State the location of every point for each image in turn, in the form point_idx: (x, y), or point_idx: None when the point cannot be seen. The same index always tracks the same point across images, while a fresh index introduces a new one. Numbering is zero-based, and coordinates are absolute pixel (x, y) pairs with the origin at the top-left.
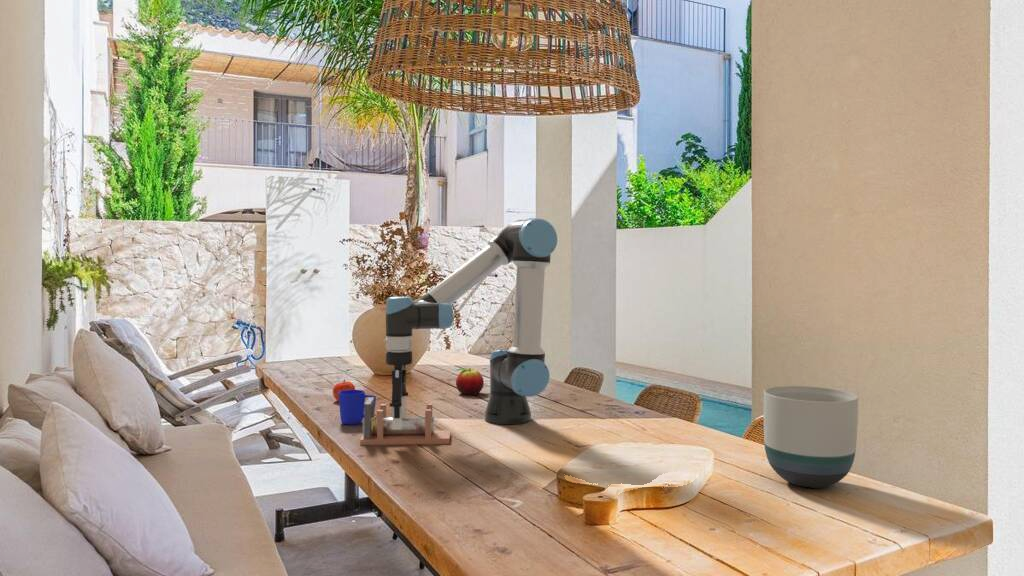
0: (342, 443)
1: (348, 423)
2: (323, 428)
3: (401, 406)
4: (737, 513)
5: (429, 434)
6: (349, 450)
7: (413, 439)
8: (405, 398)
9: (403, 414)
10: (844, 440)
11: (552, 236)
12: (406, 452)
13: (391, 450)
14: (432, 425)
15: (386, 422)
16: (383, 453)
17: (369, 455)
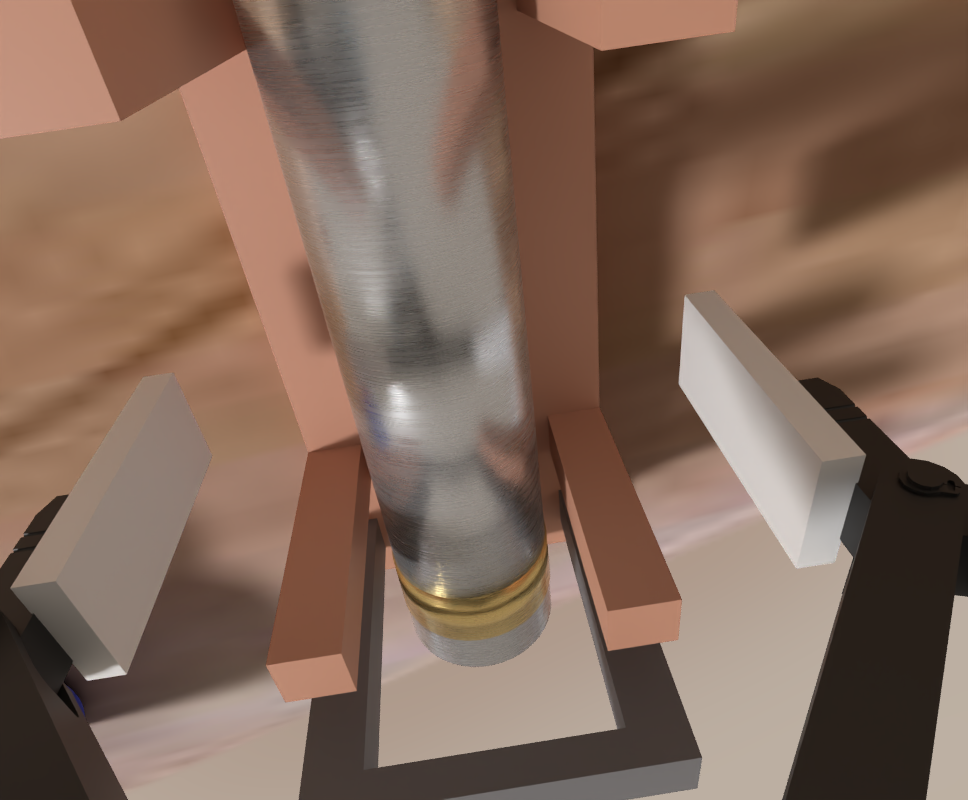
0: (551, 596)
1: (81, 706)
2: (215, 755)
3: (861, 458)
4: None
5: None
6: (722, 522)
7: (592, 144)
8: (66, 562)
9: (168, 423)
10: None
11: None
12: (869, 136)
13: (773, 279)
14: None
15: (528, 485)
16: (849, 315)
17: (876, 389)
